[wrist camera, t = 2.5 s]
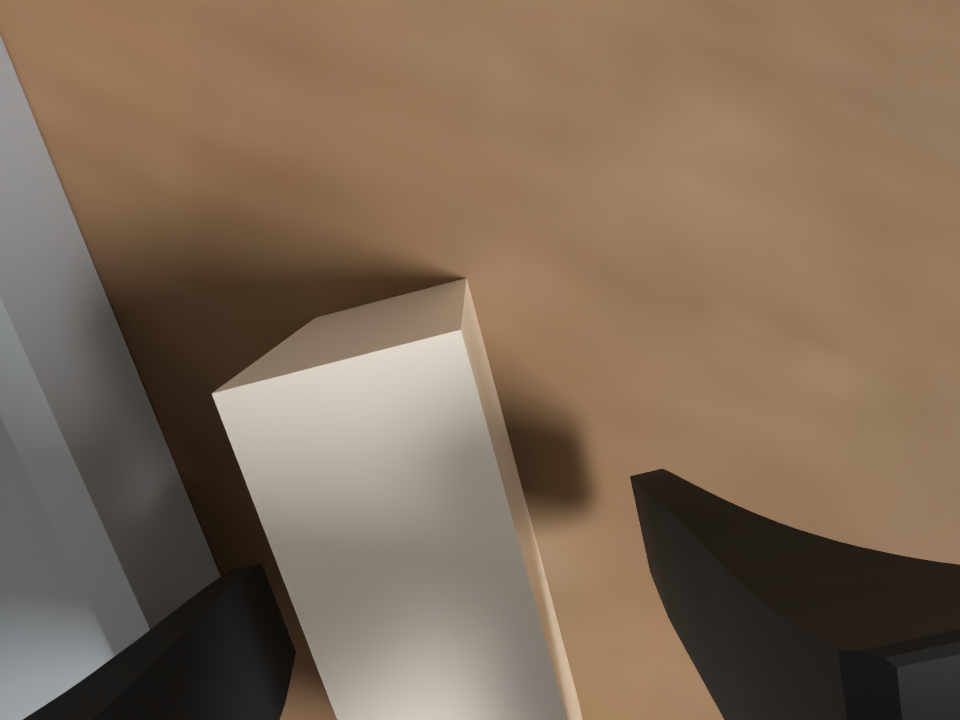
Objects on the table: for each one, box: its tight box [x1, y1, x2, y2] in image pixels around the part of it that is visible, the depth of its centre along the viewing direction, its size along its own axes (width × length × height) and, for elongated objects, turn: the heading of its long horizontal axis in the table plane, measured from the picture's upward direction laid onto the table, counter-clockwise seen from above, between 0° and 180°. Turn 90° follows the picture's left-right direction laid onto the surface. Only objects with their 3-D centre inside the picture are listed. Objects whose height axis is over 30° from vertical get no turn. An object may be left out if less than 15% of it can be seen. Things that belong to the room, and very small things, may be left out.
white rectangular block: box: [212, 278, 582, 720], centre depth 11 cm, size 10×3×5 cm, turn 15°
